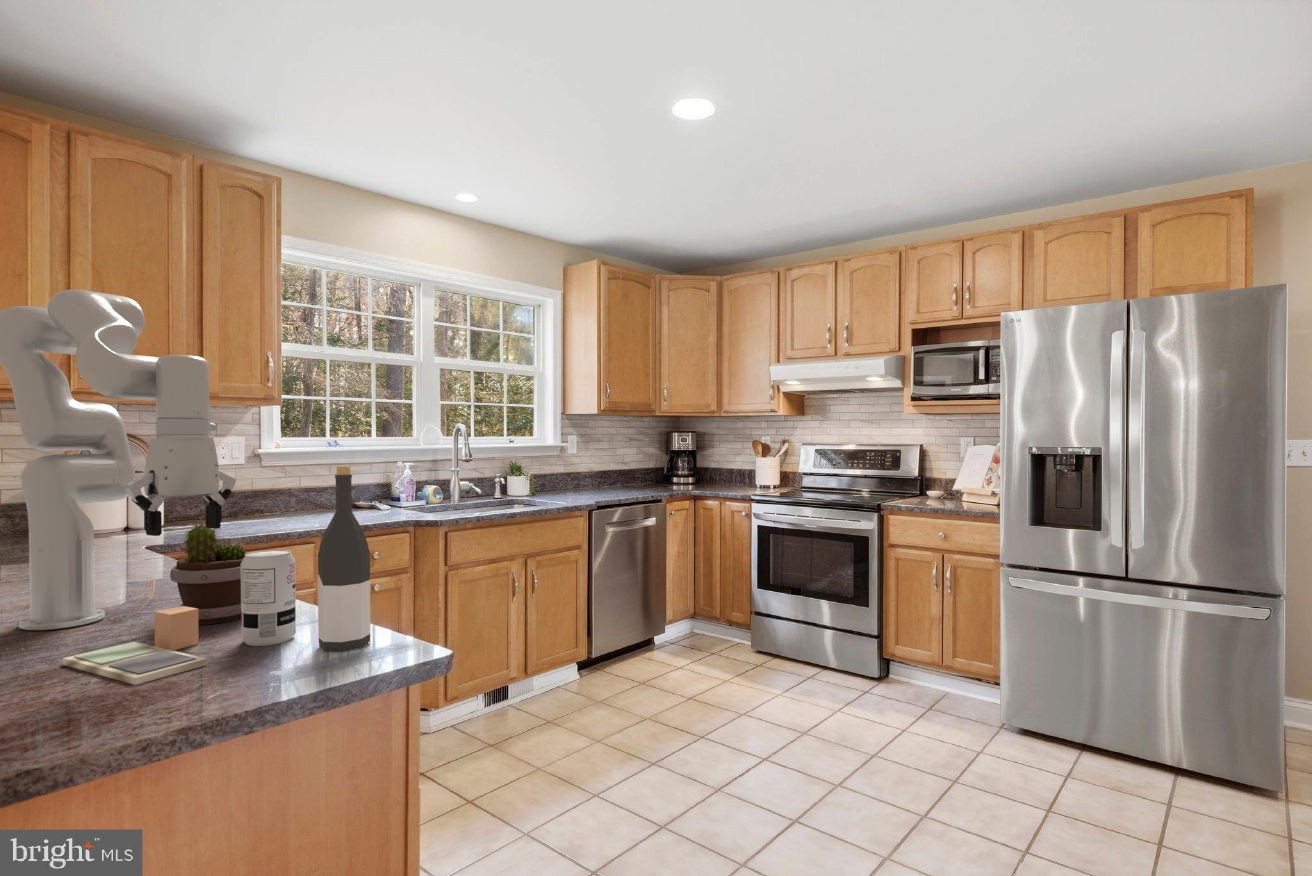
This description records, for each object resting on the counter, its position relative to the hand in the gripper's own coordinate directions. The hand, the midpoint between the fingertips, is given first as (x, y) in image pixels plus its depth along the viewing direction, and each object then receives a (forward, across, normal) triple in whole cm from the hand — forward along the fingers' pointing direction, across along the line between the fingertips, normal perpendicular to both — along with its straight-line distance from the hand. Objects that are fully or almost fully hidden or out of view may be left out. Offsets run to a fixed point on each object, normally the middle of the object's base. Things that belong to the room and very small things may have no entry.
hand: (184, 531), depth 123 cm
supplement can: (+19, -8, +10) cm, 23 cm away
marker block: (+19, +1, -1) cm, 19 cm away
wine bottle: (+19, -12, +24) cm, 33 cm away
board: (+19, +10, +4) cm, 22 cm away
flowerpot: (+19, -13, -13) cm, 27 cm away
